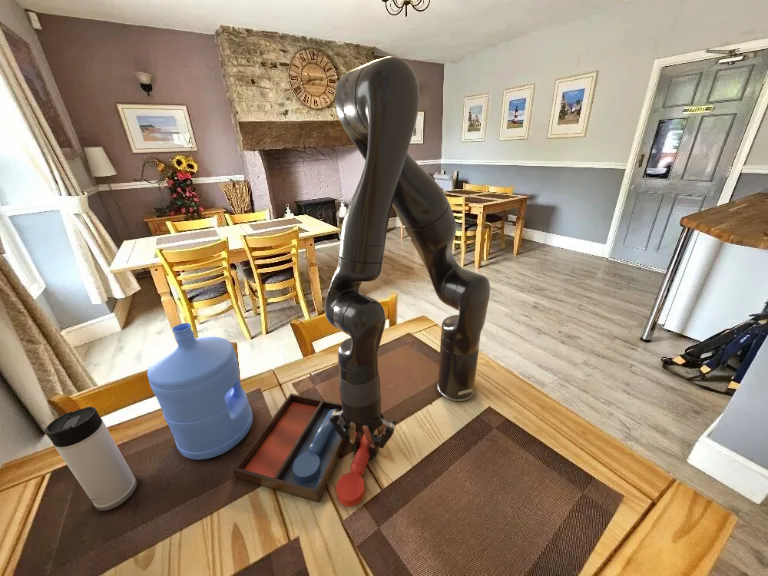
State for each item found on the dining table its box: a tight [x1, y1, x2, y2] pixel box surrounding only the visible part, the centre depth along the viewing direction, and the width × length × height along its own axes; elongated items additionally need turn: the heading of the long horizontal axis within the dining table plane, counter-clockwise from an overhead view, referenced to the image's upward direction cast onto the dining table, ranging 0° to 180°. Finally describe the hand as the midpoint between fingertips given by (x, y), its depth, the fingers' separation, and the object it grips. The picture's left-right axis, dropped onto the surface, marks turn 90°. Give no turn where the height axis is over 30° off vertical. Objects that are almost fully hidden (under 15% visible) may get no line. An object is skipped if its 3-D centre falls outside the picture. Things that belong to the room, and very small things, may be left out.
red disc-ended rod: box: [335, 429, 379, 508], centre depth 63 cm, size 17×5×3 cm, turn 164°
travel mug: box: [44, 406, 138, 512], centre depth 55 cm, size 6×7×20 cm
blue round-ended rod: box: [293, 409, 335, 483], centre depth 66 cm, size 17×5×3 cm, turn 164°
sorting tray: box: [232, 393, 348, 503], centre depth 67 cm, size 21×18×3 cm
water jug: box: [146, 322, 254, 461], centre depth 66 cm, size 16×16×28 cm
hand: (364, 453), depth 65 cm, fingers closed on red disc-ended rod, 2 cm apart
